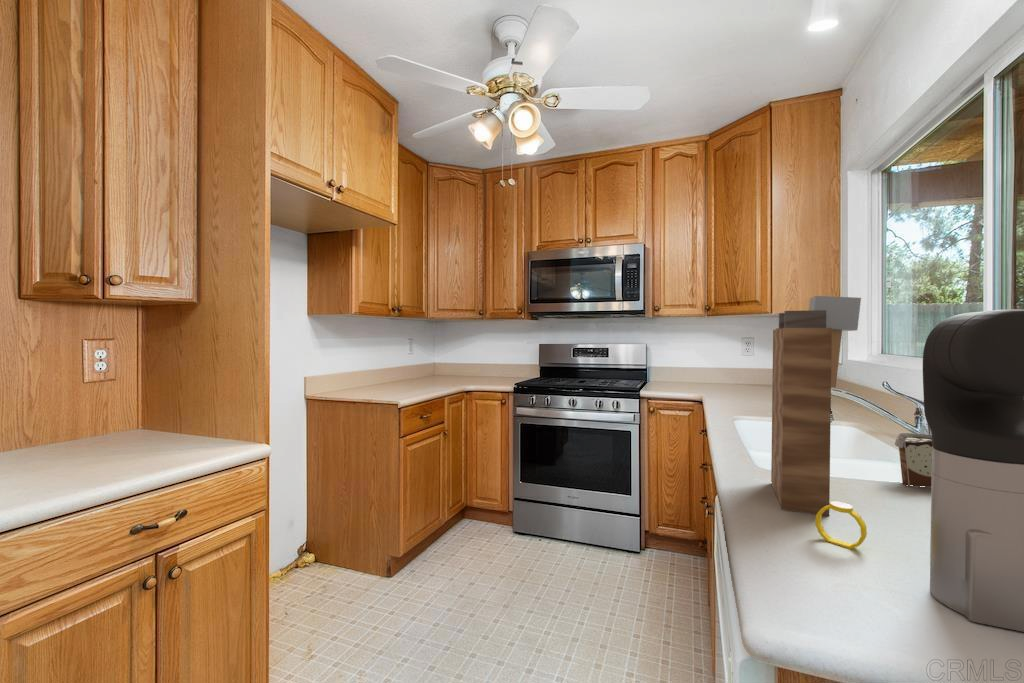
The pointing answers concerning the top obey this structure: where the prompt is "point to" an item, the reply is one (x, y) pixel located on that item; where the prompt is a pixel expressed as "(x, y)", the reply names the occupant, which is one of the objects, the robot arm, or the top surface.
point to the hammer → (837, 322)
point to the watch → (845, 509)
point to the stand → (801, 411)
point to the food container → (915, 458)
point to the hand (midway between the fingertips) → (971, 346)
